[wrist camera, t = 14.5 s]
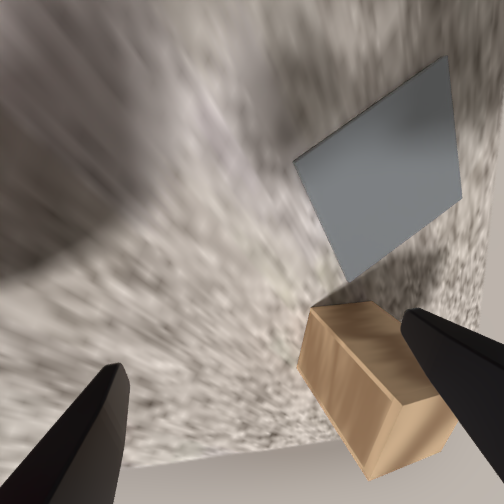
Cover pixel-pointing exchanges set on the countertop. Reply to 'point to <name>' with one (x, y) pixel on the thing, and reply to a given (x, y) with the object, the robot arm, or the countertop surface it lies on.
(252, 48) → the countertop surface
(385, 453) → the cover box
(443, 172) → the slate mat
